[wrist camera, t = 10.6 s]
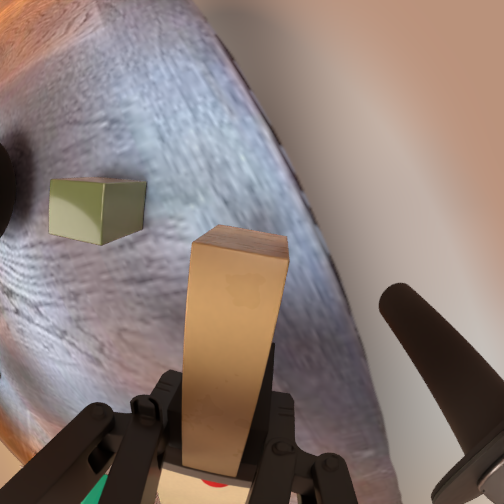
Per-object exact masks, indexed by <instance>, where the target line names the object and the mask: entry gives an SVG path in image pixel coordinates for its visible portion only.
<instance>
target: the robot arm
mask: <svg viewBox="0 0 504 504" xmlns="http://www.w3.org/2000/svg"><path fill="white" fill-rule="evenodd" d="M274 351H275V343H272V344H271V348H270V352H269V356H268V360H267V365H266V369H265V373H264V377H263V381H262V385H261V389H260V393H259V397H258V400H257V404H256V408H255V412H254V416H253V419H252V423H251V427H250V430H249V434H248V438H247V441H246V445H245V448H244V452H243V455H242V459H241V462H240V463H244V464H250V465H256V464H257V469H256V471H255V474H254V476H253V479H252V483H251V487H250V490H249V493H248V496H247V499H246V502H245V504H289V500H290V495H291V492H294V493H297V499H298V504H358V501H357V498H356V494H355V491H354V488H353V484H352V481H351V478H350V474H349V471H348V468H347V464H346V462H345V460H344V459H343V458H342V457H341V456H340V455H337V454H335V453H324V454H321V455H320V456H315V455H312V454H309V453H306V452H304V451H303V450H301V449H300V448H299V447H298V446H297V444H296V442H295V418H294V400H293V398H292V396H291V395H290V394H289V393H282V392H275V391H272V381H273V366H274ZM182 375H183V373H181V372H177V371H174V370H168V371H167V372H165V373H164V374H162V376H161V378H160V379H159V381H158V383H157V384H156V386H155V388H154V389H153V391H152V393H151V394H150V395H138V396H136V397H134V398H133V399H132V400H131V401H130V405H131V411H132V413H118V412H113V410H112V408H111V407H110V406H108V405H107V404H105V403H101V402H95V403H91V404H89V405H88V406H86V407H85V408H84V409H83V410H82V411H81V412H80V413H79V414H78V415H77V416H76V417H75V418H74V419H73V420H72V421H71V422H70V423H69V424H68V425H67V426H66V427H65V428H63V429H62V430H61V431H60V432H59V433H58V434H57V435H56V436H55V437H54V438H53V439H52V440H51V441H50V442H49V443H48V444H47V445H46V446H45V447H44V448H43V449H42V450H40V451H39V452H38V453H37V454H36V455H35V456H34V457H33V458H32V459H31V460H30V461H29V462H28V463H27V464H26V465H25V466H24V467H23V468H22V469H21V470H20V471H19V472H18V473H17V474H15V476H13V477H12V478H11V479H10V480H9V481H8V482H7V483H6V484H5V485H4V486H3V487H2V488H1V489H0V504H81V502H82V501H83V500H84V499H85V497H86V496H87V495H88V494H89V493H90V491H91V490H92V489H93V488H94V486H95V485H96V484H97V483H98V481H99V480H100V479H101V477H102V476H103V475H104V474H105V472H106V471H107V470H108V469H109V467H110V466H111V465H112V466H111V469H110V472H109V474H108V477H107V479H106V482H105V485H104V488H103V490H102V493H101V496H100V499H99V502H98V504H154V502H155V498H156V493H157V489H158V485H159V480H160V476H161V472H162V468H163V464H164V460H165V455H166V446H167V444H168V441H169V446H171V447H174V448H178V449H181V450H182ZM477 487H478V489H479V491H480V492H481V493H483V494H484V495H485V496H486V497H487V498H488V499H489V500H491V501H492V502H493V503H494V504H504V454H502V455H501V456H500V457H499V458H498V459H497V460H496V461H495V462H494V463H493V464H492V465H491V466H490V467H489V468H488V469H487V470H486V471H485V472H484V473H483V474H482V475H481V477H480V478H479V479H478V481H477Z"/></svg>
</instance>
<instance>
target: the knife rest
mask: <svg viewBox="0 0 504 504" xmlns="http://www.w3.org/2000/svg"><path fill="white" fill-rule="evenodd" d="M146 184H147V182H146V181H138V180H128V179H117V178H104V177H80V178H59V179H51V180H50V195H49V234H52V235H56V236H60V237H65V238H69V239H73V240H78V241H82V242H87V243H91V244H96V245H100V246H102V245H104V244H107V243H109V242H112V241H114V240H117V239H120V238H122V237H125V236H127V235H130V234H132V233H135V232H138V231H140V230H142V226H143V214H144V203H145V193H146Z"/></svg>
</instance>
